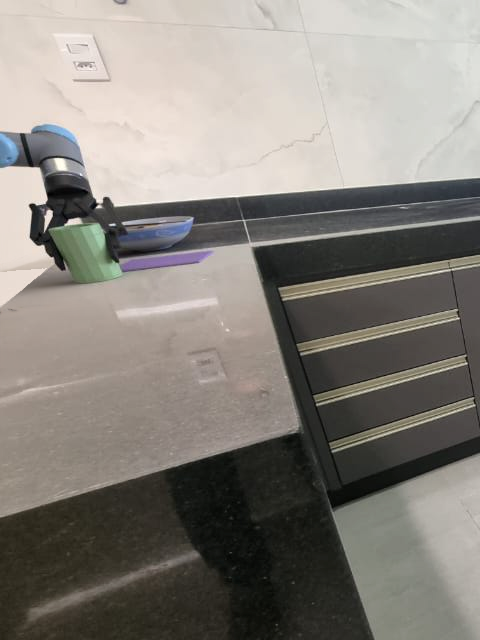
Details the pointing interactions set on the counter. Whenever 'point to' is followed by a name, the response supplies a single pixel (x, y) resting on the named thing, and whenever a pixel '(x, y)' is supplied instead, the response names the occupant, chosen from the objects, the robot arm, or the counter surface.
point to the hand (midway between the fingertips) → (88, 263)
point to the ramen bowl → (154, 232)
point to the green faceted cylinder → (85, 252)
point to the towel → (164, 261)
